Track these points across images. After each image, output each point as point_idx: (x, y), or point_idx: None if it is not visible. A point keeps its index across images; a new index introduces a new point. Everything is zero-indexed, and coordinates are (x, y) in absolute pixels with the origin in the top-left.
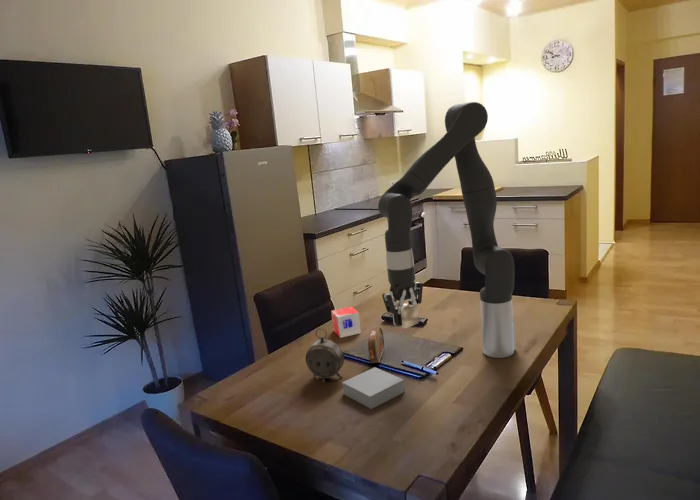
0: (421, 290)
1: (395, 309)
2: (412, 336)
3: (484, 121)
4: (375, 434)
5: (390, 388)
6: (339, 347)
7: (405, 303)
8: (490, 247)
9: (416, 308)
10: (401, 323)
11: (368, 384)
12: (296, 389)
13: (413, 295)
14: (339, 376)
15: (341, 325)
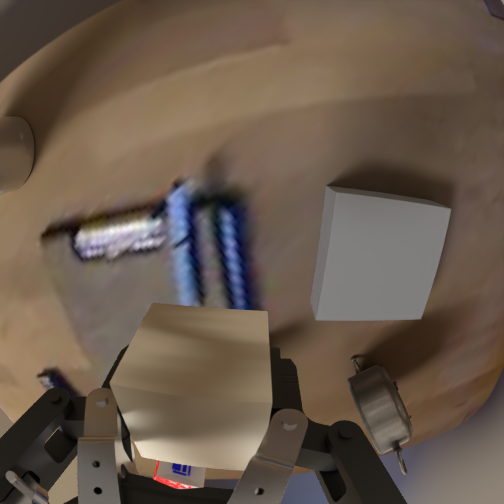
0: (2, 448)
1: (316, 450)
2: (91, 365)
3: None
4: (484, 129)
5: (387, 197)
6: (365, 417)
7: (141, 453)
8: None
9: (122, 373)
10: (270, 355)
11: (407, 260)
12: (420, 375)
13: (90, 477)
14: (356, 362)
15: (195, 470)
